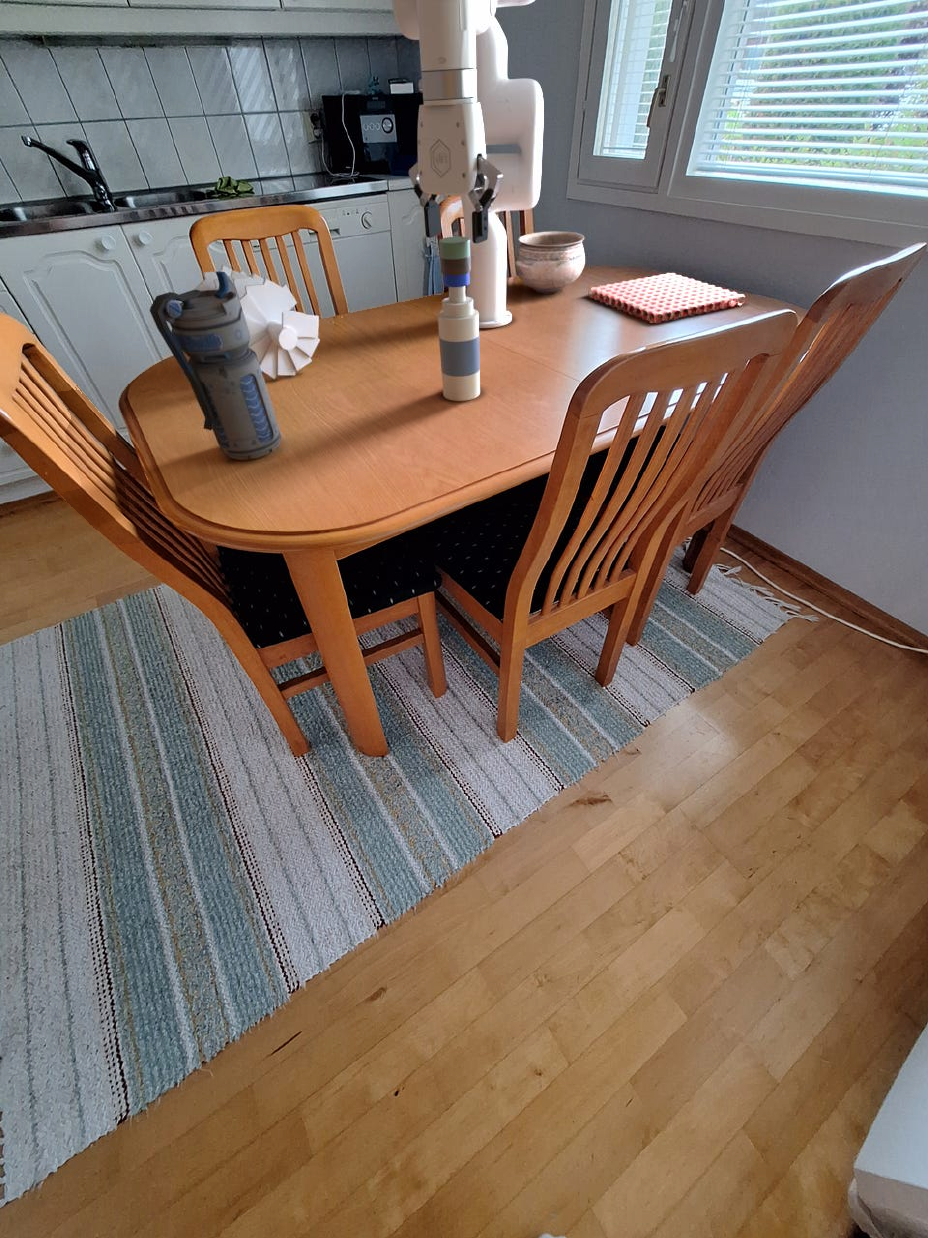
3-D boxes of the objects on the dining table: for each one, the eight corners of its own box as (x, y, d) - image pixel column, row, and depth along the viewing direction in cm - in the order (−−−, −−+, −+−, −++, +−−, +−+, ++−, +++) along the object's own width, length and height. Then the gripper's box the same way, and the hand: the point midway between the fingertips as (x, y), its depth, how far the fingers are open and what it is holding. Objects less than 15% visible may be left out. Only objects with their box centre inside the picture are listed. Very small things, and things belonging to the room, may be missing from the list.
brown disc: (436, 270, 89) (435, 254, 88) (464, 266, 90) (463, 250, 89) (447, 276, 86) (446, 260, 84) (475, 272, 87) (475, 256, 86)
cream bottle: (437, 389, 104) (428, 269, 90) (471, 382, 106) (468, 263, 92) (450, 404, 100) (443, 279, 85) (486, 396, 101) (484, 272, 87)
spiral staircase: (284, 404, 112) (227, 369, 124) (339, 345, 114) (277, 317, 126) (223, 330, 96) (164, 299, 108) (288, 264, 98) (223, 240, 110)
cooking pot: (554, 275, 160) (557, 226, 152) (603, 286, 150) (609, 234, 141) (492, 293, 150) (492, 241, 141) (540, 306, 139) (544, 251, 130)
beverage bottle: (198, 460, 88) (123, 289, 70) (259, 428, 96) (205, 266, 78) (237, 476, 84) (168, 298, 66) (298, 441, 92) (251, 273, 74)
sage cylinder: (435, 254, 88) (434, 238, 86) (463, 250, 89) (463, 234, 87) (446, 260, 84) (445, 244, 83) (475, 256, 86) (474, 240, 84)
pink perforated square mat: (587, 296, 144) (588, 287, 143) (669, 280, 152) (671, 271, 150) (654, 324, 126) (656, 314, 124) (743, 304, 133) (746, 295, 132)
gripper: (386, 92, 75) (401, 238, 87) (483, 88, 67) (485, 249, 80) (420, 89, 79) (431, 229, 91) (516, 85, 71) (513, 238, 84)
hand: (456, 238), depth 86 cm, fingers open, 9 cm apart
